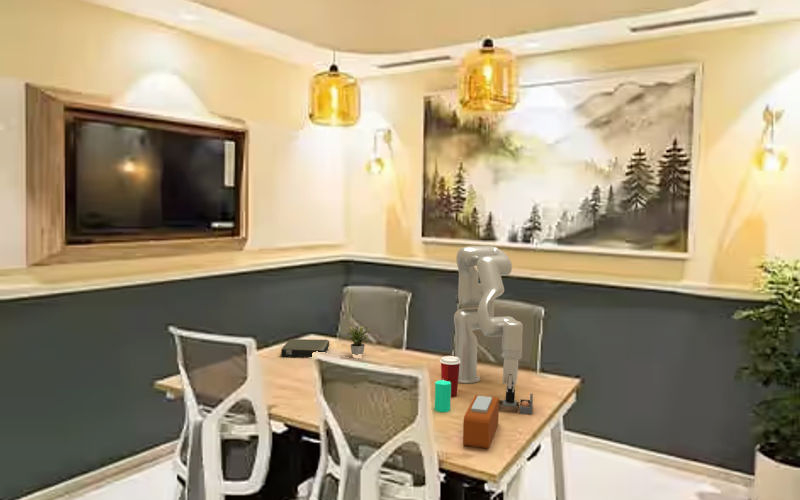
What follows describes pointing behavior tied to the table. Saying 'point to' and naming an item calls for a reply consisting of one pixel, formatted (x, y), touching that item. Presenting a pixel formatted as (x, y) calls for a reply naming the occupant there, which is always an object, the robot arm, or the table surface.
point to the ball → (525, 404)
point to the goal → (526, 409)
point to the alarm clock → (481, 421)
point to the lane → (508, 409)
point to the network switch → (303, 347)
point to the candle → (442, 396)
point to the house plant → (357, 340)
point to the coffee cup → (450, 372)
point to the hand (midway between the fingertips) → (510, 400)
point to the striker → (510, 403)
